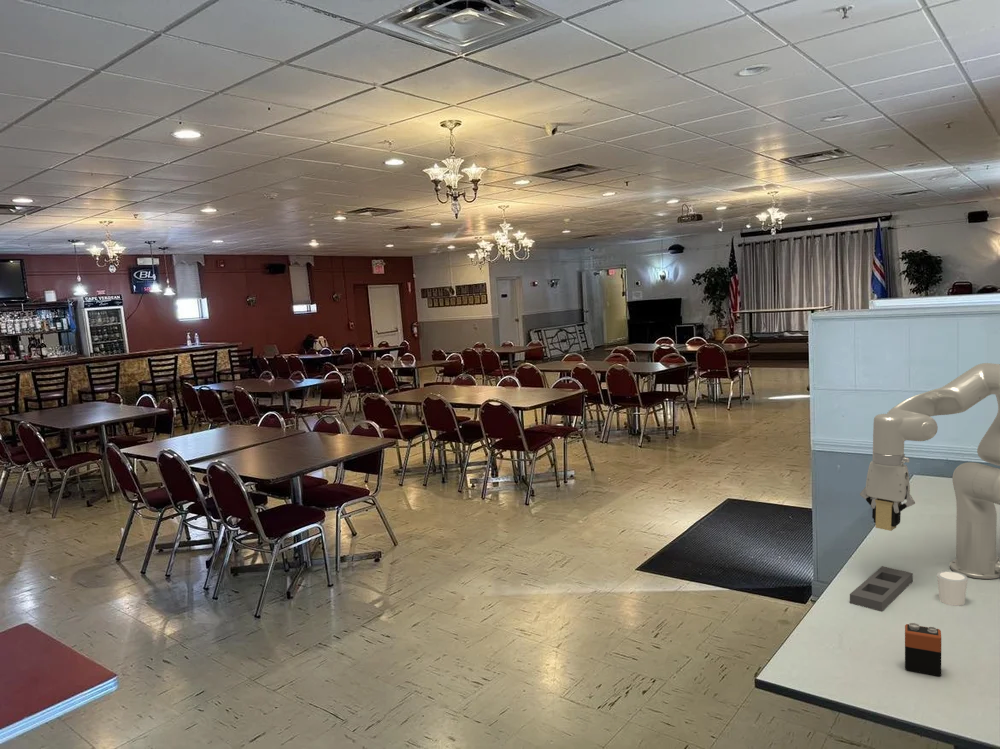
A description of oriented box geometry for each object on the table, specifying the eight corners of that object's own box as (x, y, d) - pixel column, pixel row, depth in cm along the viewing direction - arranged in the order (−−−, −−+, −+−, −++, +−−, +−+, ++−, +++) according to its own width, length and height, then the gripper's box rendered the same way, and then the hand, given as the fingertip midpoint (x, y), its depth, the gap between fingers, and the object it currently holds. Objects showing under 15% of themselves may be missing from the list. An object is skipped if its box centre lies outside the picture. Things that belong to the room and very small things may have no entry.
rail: (912, 581, 197) (912, 572, 197) (882, 611, 181) (882, 602, 181) (882, 574, 203) (882, 566, 203) (849, 602, 187) (849, 594, 187)
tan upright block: (897, 527, 194) (898, 499, 193) (891, 531, 191) (892, 502, 190) (880, 523, 197) (881, 496, 196) (874, 527, 194) (875, 499, 193)
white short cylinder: (963, 596, 186) (963, 571, 186) (971, 607, 180) (971, 581, 179) (933, 594, 189) (933, 569, 188) (940, 605, 182) (940, 580, 182)
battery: (905, 661, 158) (904, 619, 157) (940, 667, 154) (940, 624, 153) (904, 670, 154) (904, 627, 153) (941, 677, 151) (941, 633, 149)
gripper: (926, 461, 188) (924, 527, 190) (861, 452, 201) (860, 514, 203) (916, 466, 183) (914, 533, 185) (850, 456, 196) (849, 520, 198)
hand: (886, 523), depth 194 cm, fingers closed on tan upright block, 4 cm apart
